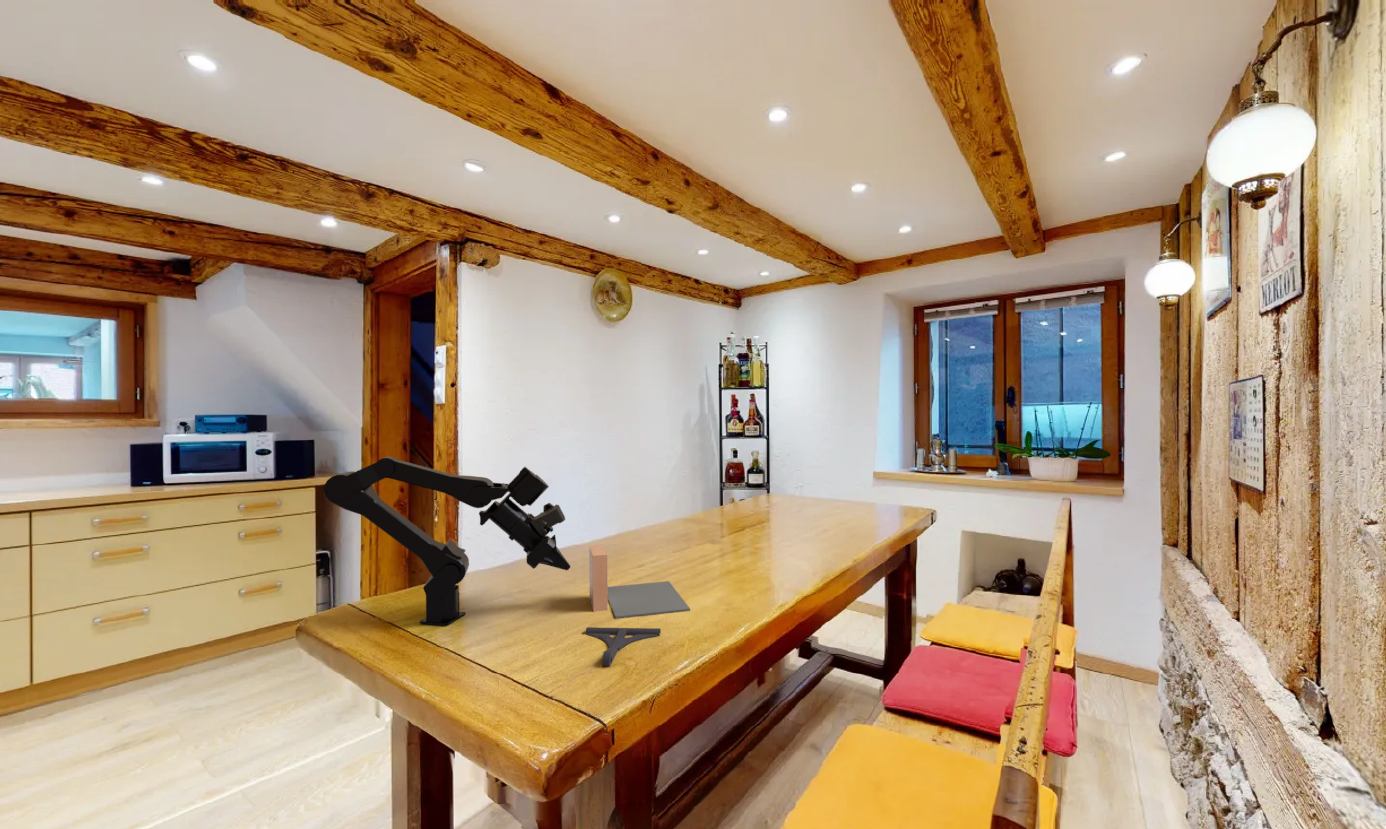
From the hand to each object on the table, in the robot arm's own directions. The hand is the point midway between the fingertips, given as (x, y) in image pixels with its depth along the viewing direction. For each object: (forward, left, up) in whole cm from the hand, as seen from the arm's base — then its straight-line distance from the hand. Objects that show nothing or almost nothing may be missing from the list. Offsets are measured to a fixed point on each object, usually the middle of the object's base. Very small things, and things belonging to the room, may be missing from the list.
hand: (569, 568), depth 122 cm
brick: (+3, -6, -9) cm, 11 cm away
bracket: (-18, -17, -9) cm, 27 cm away
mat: (+8, -15, -8) cm, 19 cm away
